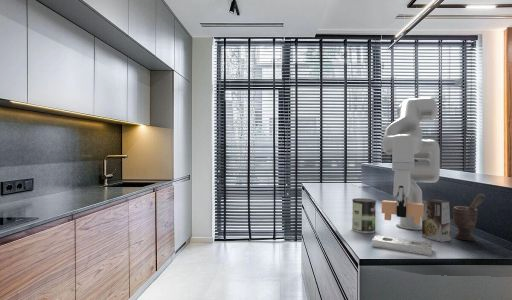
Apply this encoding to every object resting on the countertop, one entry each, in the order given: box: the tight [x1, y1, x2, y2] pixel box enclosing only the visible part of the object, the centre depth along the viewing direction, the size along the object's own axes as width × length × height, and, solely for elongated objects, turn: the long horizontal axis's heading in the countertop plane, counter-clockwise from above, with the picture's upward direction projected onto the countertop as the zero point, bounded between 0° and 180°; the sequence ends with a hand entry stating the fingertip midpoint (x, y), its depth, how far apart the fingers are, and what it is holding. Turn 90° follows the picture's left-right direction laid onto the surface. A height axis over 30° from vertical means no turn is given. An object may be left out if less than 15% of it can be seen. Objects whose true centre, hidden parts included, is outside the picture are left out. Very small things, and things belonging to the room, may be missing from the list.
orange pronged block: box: [381, 200, 424, 224], centre depth 120 cm, size 14×4×7 cm, turn 60°
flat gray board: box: [371, 234, 433, 257], centre depth 121 cm, size 20×8×2 cm, turn 60°
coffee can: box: [351, 197, 377, 234], centre depth 147 cm, size 10×10×14 cm
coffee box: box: [421, 198, 452, 243], centre depth 135 cm, size 9×6×16 cm
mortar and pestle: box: [452, 193, 486, 242], centre depth 134 cm, size 12×9×20 cm
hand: (402, 215), depth 120 cm, fingers closed on orange pronged block, 4 cm apart
